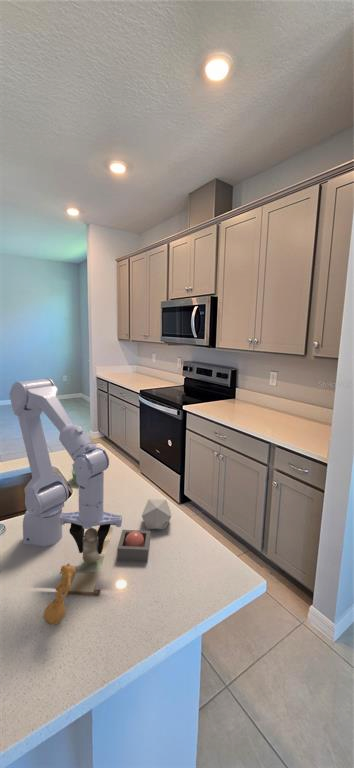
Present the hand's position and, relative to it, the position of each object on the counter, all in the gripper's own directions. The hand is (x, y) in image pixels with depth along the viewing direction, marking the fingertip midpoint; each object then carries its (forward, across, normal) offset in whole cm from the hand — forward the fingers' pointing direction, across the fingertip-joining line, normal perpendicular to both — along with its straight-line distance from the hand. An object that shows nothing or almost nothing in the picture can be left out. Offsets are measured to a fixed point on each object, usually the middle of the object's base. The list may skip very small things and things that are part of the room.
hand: (91, 550), depth 80 cm
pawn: (+2, 0, 0) cm, 2 cm away
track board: (+4, 0, +3) cm, 5 cm away
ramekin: (+4, -14, +44) cm, 46 cm away
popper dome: (+3, +10, +5) cm, 12 cm away
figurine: (+4, -2, -15) cm, 16 cm away
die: (+4, +15, +17) cm, 23 cm away
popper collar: (+4, +10, +5) cm, 12 cm away
